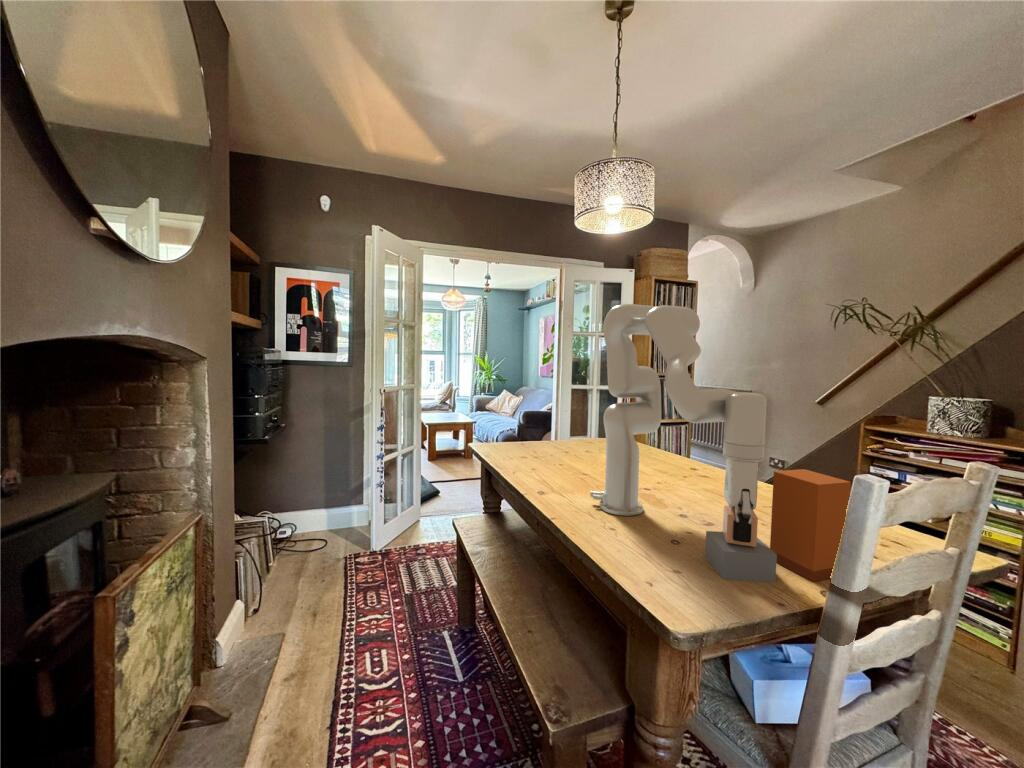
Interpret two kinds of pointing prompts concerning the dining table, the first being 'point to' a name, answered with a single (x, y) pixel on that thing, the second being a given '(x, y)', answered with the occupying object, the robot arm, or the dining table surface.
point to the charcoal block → (740, 559)
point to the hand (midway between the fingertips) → (739, 534)
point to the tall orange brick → (808, 521)
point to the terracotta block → (728, 526)
